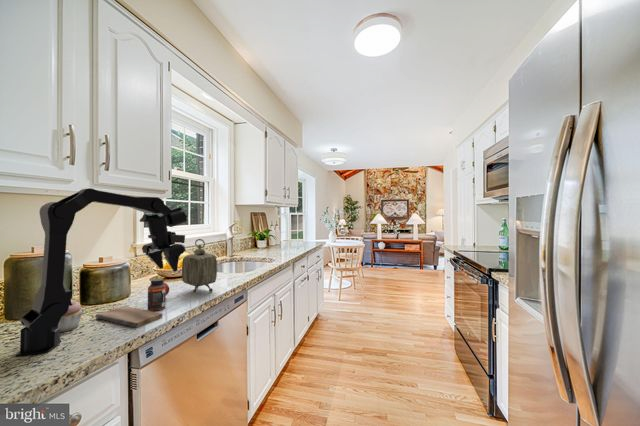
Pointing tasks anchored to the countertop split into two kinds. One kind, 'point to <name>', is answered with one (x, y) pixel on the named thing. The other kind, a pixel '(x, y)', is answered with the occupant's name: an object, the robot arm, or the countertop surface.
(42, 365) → the countertop surface
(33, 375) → the countertop surface
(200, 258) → the tabletop clock
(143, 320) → the brown wooden board
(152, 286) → the supplement bottle
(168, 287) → the onion
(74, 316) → the cupcake
